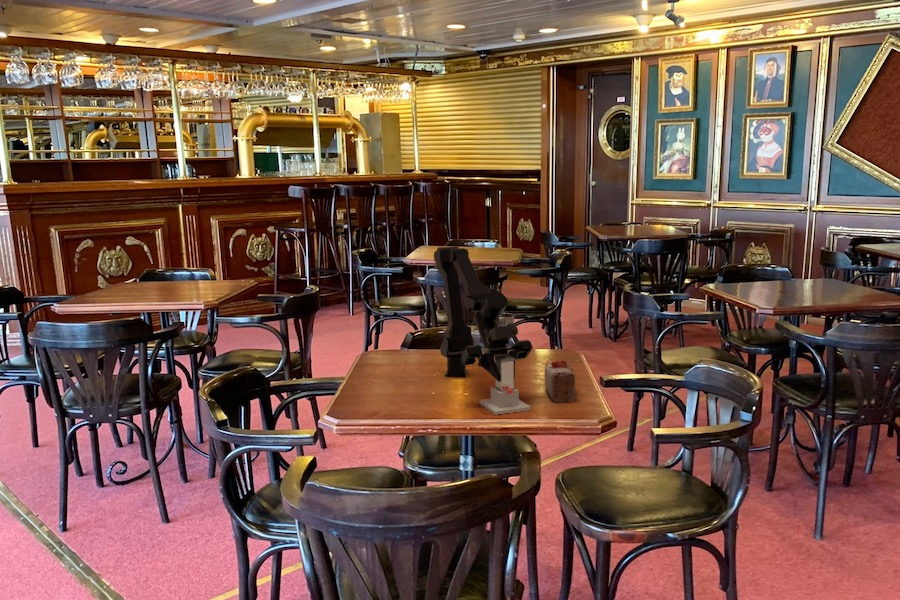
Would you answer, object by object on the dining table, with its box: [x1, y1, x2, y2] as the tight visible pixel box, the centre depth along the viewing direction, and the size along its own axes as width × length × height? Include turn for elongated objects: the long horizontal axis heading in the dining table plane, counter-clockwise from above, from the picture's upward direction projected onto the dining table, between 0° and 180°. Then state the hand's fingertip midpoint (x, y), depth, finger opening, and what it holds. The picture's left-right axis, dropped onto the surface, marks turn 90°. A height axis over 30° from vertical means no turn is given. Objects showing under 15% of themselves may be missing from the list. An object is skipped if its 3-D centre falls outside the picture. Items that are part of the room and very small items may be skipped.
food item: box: [544, 360, 576, 403], centre depth 198 cm, size 14×8×10 cm, turn 2°
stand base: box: [478, 386, 531, 416], centre depth 188 cm, size 10×10×6 cm
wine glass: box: [494, 312, 515, 361], centre depth 236 cm, size 8×8×15 cm
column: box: [494, 355, 516, 392], centre depth 188 cm, size 4×4×12 cm
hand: (506, 380), depth 186 cm, fingers closed on column, 3 cm apart
